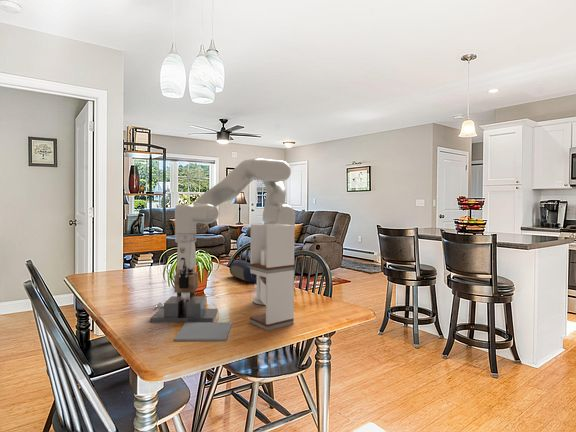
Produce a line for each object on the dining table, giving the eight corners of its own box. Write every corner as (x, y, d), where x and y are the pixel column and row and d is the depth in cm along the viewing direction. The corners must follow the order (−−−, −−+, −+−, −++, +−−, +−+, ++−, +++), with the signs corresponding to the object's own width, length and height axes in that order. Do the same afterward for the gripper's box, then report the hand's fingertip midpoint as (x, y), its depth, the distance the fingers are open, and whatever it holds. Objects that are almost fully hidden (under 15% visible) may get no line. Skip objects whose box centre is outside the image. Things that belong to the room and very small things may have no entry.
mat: (231, 324, 132) (231, 322, 132) (225, 340, 116) (225, 338, 116) (185, 324, 131) (185, 322, 131) (173, 341, 115) (173, 339, 115)
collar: (197, 287, 143) (197, 272, 142) (194, 292, 136) (193, 275, 135) (179, 288, 142) (179, 272, 142) (174, 292, 135) (174, 276, 135)
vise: (217, 312, 146) (217, 277, 145) (212, 322, 134) (212, 284, 133) (160, 312, 145) (160, 277, 144) (150, 322, 133) (150, 284, 132)
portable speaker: (226, 277, 215) (227, 259, 215) (242, 275, 221) (242, 258, 220) (247, 285, 194) (247, 266, 194) (264, 283, 200) (264, 264, 200)
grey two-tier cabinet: (275, 316, 141) (276, 223, 140) (293, 324, 133) (294, 225, 132) (249, 322, 134) (250, 224, 133) (267, 330, 126) (268, 226, 124)
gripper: (190, 240, 130) (191, 291, 130) (200, 235, 147) (201, 280, 148) (168, 240, 129) (169, 291, 130) (181, 235, 147) (182, 280, 148)
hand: (186, 285), depth 139 cm, fingers closed on collar, 7 cm apart
